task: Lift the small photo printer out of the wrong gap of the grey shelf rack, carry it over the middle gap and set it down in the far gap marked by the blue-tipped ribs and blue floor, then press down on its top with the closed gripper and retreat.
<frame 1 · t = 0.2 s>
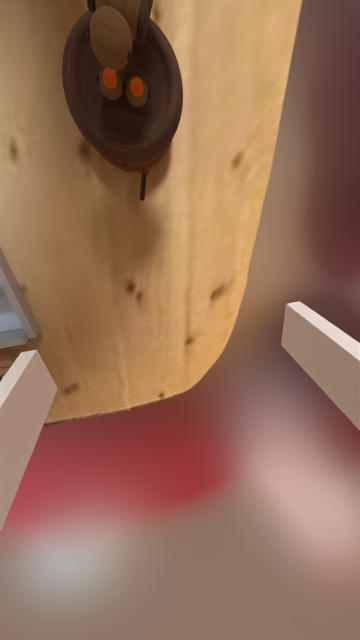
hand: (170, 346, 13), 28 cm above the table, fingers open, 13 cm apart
music box: (131, 130, 30), on the table
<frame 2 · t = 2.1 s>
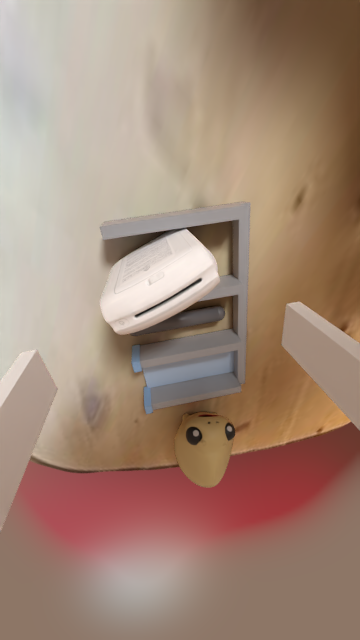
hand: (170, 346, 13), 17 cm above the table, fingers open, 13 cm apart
photo printer: (154, 258, 28), resting in grey shelf rack
grey shelf rack: (164, 319, 32), on the table
tan frog figure: (198, 414, 43), on the table
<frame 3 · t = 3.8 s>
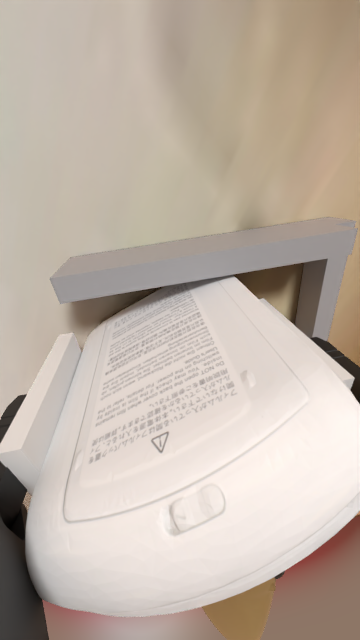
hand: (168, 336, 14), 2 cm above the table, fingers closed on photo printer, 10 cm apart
photo printer: (163, 315, 16), resting in grey shelf rack, touching gripper
grey shelf rack: (179, 401, 20), on the table
tan frog figure: (220, 506, 31), on the table
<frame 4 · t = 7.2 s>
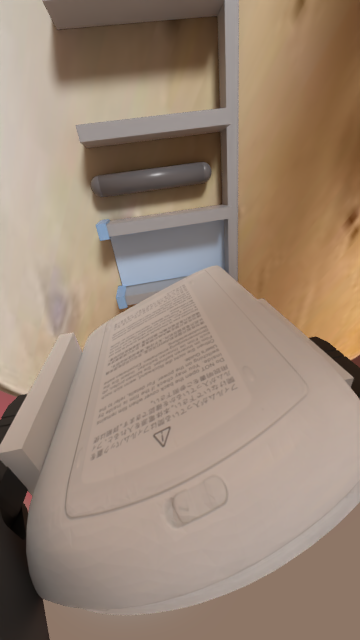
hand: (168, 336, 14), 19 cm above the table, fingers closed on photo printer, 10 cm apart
photo printer: (162, 318, 16), point 17 cm above the table, touching gripper
grey shelf rack: (138, 181, 26), on the table
when the fingers open (4 cm above the table, at t = 10.4 s): photo printer drops 1 cm, resting on grey shelf rack.
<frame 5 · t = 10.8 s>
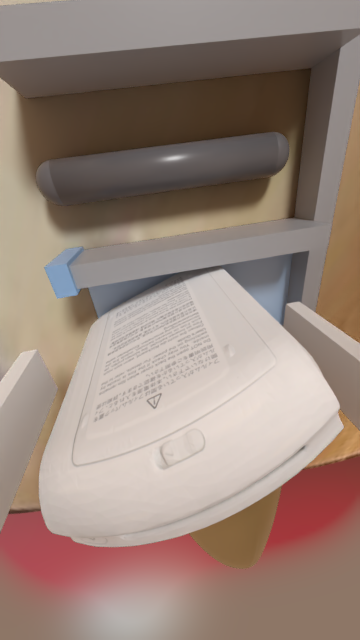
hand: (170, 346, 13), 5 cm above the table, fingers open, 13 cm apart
photo printer: (161, 308, 17), resting on grey shelf rack
grey shelf rack: (138, 174, 13), on the table
tan frog figure: (210, 412, 24), on the table
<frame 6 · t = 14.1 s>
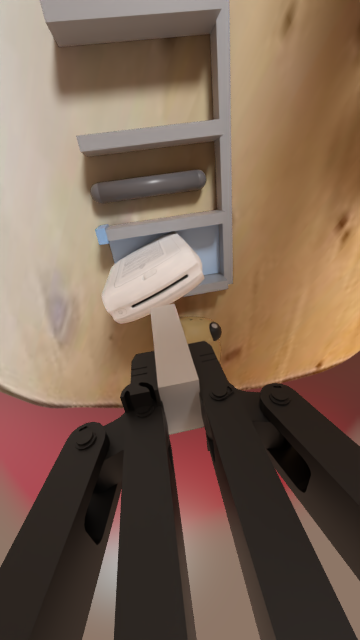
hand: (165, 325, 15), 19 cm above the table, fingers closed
photo printer: (149, 260, 31), resting on grey shelf rack
grey shelf rack: (136, 188, 27), on the table
tan frog figure: (182, 334, 38), on the table
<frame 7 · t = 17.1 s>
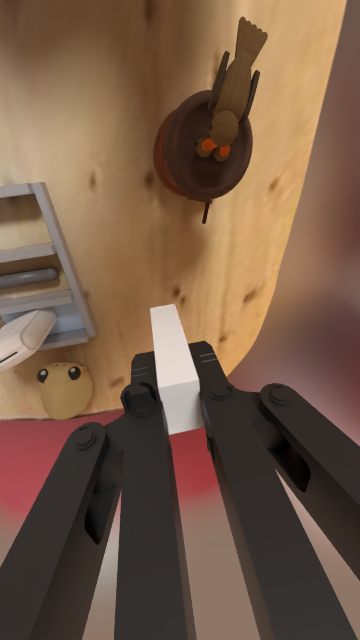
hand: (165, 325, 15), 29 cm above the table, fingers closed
photo printer: (31, 321, 44), resting on grey shelf rack
grey shelf rack: (10, 278, 40), on the table
tan frog figure: (72, 368, 51), on the table
music box: (188, 162, 36), on the table
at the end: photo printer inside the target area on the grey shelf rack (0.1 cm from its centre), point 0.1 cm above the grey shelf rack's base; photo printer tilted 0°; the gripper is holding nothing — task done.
